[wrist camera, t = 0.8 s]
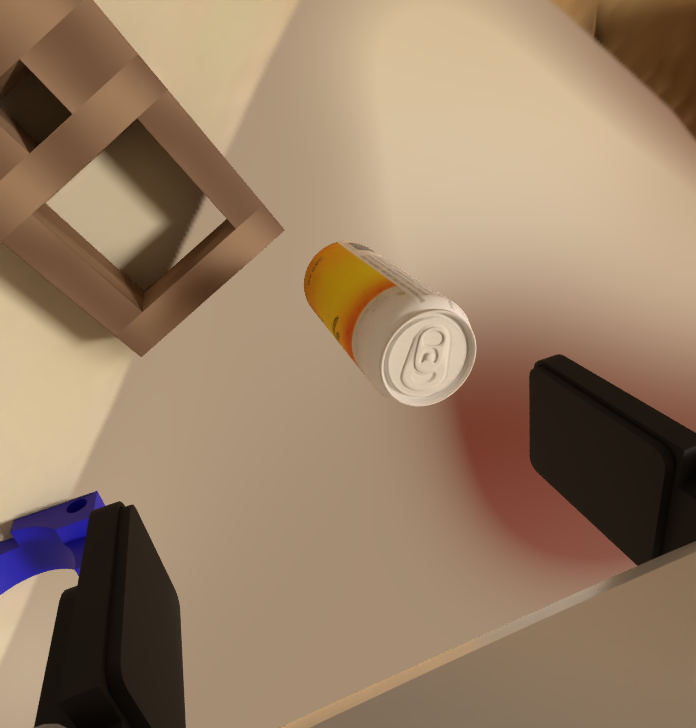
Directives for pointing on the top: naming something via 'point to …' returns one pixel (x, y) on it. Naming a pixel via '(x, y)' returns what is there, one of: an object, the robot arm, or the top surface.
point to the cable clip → (47, 540)
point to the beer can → (391, 324)
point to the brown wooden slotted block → (86, 141)
